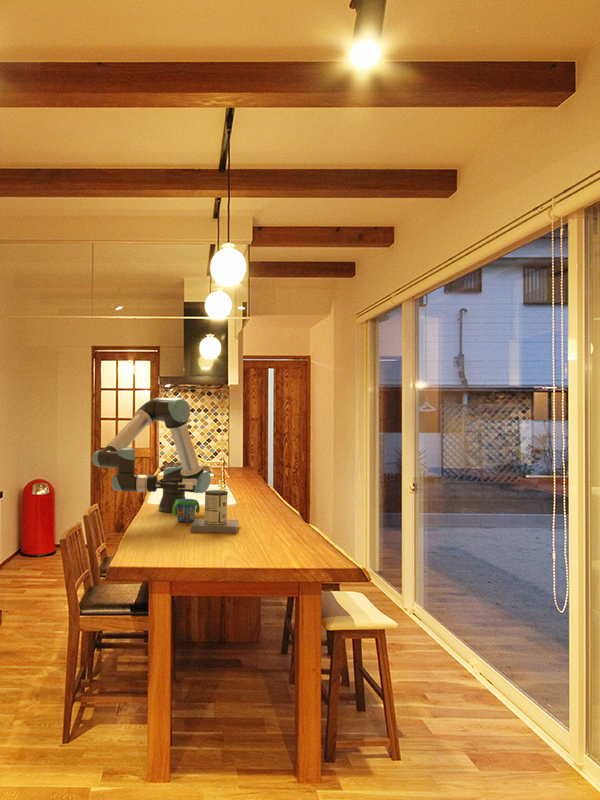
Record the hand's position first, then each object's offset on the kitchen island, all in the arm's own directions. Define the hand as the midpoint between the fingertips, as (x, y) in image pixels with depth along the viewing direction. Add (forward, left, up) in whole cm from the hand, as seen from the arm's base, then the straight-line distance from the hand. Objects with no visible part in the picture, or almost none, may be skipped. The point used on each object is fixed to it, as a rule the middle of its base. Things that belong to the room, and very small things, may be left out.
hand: (194, 484), depth 302 cm
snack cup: (-20, -6, -20) cm, 29 cm away
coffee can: (0, +10, -17) cm, 20 cm away
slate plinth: (-1, +10, -20) cm, 22 cm away
